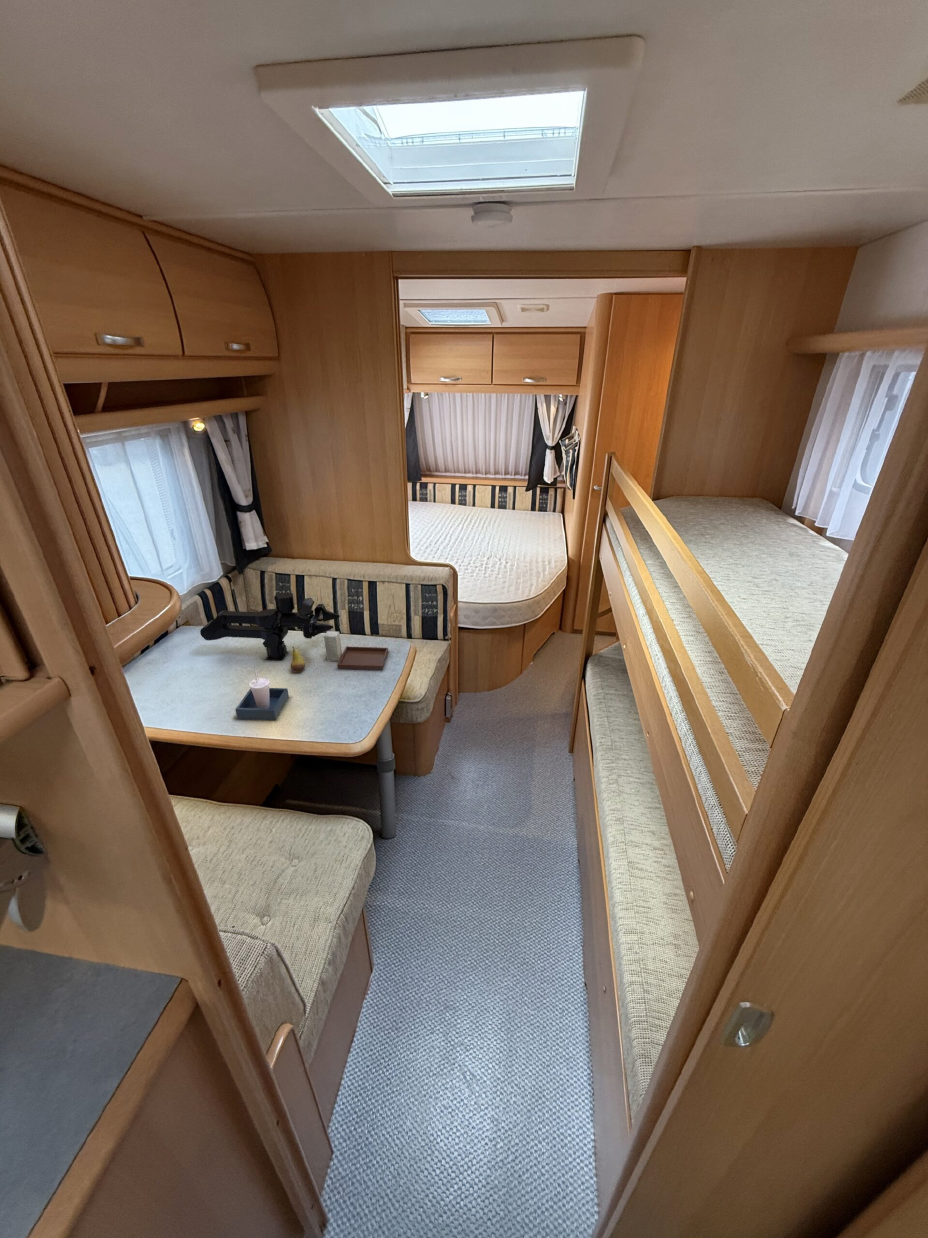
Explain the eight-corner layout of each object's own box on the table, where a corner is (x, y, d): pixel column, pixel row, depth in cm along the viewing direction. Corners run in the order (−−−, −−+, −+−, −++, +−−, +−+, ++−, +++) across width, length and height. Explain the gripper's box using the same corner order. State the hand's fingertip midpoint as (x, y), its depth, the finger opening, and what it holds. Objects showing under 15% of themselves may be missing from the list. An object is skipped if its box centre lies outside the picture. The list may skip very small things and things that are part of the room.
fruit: (309, 669, 188) (306, 642, 183) (297, 676, 184) (293, 648, 178) (300, 665, 191) (296, 637, 186) (288, 671, 187) (283, 643, 181)
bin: (237, 719, 160) (235, 709, 158) (253, 696, 171) (251, 687, 170) (275, 720, 160) (274, 710, 158) (289, 697, 171) (287, 688, 170)
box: (342, 655, 198) (340, 631, 193) (339, 661, 194) (336, 636, 189) (329, 655, 198) (327, 630, 193) (326, 660, 194) (323, 635, 190)
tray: (337, 669, 189) (337, 664, 188) (346, 650, 202) (346, 646, 201) (382, 670, 189) (382, 665, 188) (388, 652, 201) (388, 647, 200)
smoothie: (256, 701, 168) (250, 666, 162) (276, 701, 169) (270, 666, 162) (251, 713, 162) (243, 677, 156) (271, 712, 163) (264, 676, 157)
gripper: (284, 611, 177) (327, 612, 177) (301, 591, 194) (341, 592, 193) (288, 638, 182) (330, 640, 181) (304, 616, 199) (343, 618, 198)
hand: (336, 621), depth 188 cm, fingers open, 9 cm apart
